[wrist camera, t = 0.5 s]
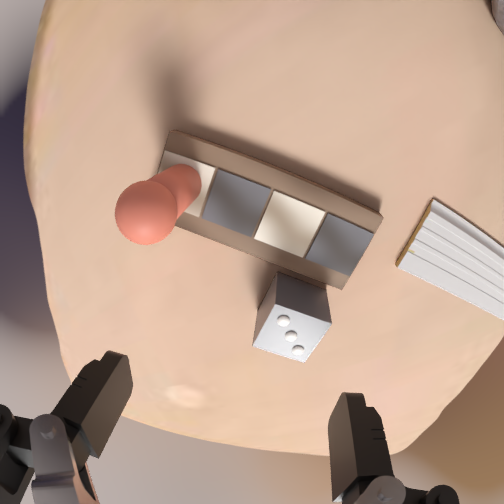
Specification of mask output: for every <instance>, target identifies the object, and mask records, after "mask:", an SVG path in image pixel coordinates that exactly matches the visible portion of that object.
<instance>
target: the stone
mask: <svg viewBox="0 0 504 504" xmlns="http://www.w3.org/2000/svg"><path fill="white" fill-rule="evenodd" d="M491 4H492V14H493V16H494V18H495V21H496V23H497V25H498V27H499V29H500V30H501V32H502V33H503V35H504V0H491Z"/></svg>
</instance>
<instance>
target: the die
mask: <svg viewBox="0 0 504 504" xmlns="http://www.w3.org/2000/svg"><path fill="white" fill-rule="evenodd" d="M331 324H332V321H331V315H330V309H329V303H328V298H327V292H326V290H325V289H322V288H319V287H317V286H314V285H311V284H309V283H306V282H303V281H301V280H298V279H296V278H293V277H290V276H288V275H285V274H282V273H280V272H277V273H276V275H275V277H274V279H273V281H272V284H271V286H270V288H269V290H268V292H267V294H266V296H265V298H264V300H263V302H262V304H261V306H260V308H259V310H258V312H257V318H256V325H255V331H254V338H253V344H252V346H253V347H256V348H259V349H262V350H265V351H268V352H271V353H274V354H278V355H281V356H284V357H287V358H290V359H294V360H297V361H300V362H304V363H305V361H306V360H307V358H308V357H309V356H310V354H311V353H312V352H313V350H314V349H315V347H316V346H317V345H318V343H319V342H320V340H321V339H322V337H323V336H324V335H325V333H326V332H327V330H328V329H329V327H330V326H331Z"/></svg>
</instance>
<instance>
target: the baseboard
mask: <svg viewBox="0 0 504 504" xmlns="http://www.w3.org/2000/svg"><path fill="white" fill-rule="evenodd" d="M395 265H396V267H397V268H399V269H401V270H403V271H406V272H408V273H410V274H412V275H414V276H416V277H418V278H420V279H422V280H425V281H427V282H429V283H431V284H433V285H435V286H437V287H439V288H441V289H443V290H445V291H447V292H449V293H451V294H453V295H455V296H457V297H459V298H461V299H463V300H465V301H467V302H469V303H471V304H473V305H475V306H477V307H479V308H481V309H483V310H485V311H487V312H489V313H491V314H493V315H494V316H496V317H498V318H500V319H502V320H504V248H503V247H502V246H501V245H499V244H498V243H497V242H495V241H494V240H493V239H491V238H490V237H489V236H487V235H486V234H485V233H483V232H482V231H480V230H479V229H478V228H476V227H475V226H473V225H472V224H471V223H469V222H468V221H466V220H465V219H463V218H462V217H460V216H459V215H457V214H456V213H454V212H453V211H451V210H450V209H448V208H447V207H445V206H444V205H442V204H441V203H439V202H437V201H436V200H434V199H432V200H431V202H430V204H429V206H428V208H427V210H426V212H425V214H424V215H423V217H422V219H421V221H420V223H419V224H418V226H417V228H416V230H415V232H414V233H413V235H412V237H411V238H410V240H409V242H408V244H407V245H406V247H405V249H404V250H403V252H402V254H401V255H400V257H399V259H398V260H397V262H396V263H395Z"/></svg>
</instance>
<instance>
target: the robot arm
mask: <svg viewBox="0 0 504 504" xmlns="http://www.w3.org/2000/svg"><path fill="white" fill-rule="evenodd" d="M132 388H133V381H132V376H131V370H130V365H129V359H128V357H127V355H123V354H120V353H116V352H113V351H107V352H106V353H105V354H104V356H103V357H102V359H101V360H100V361H98V360H95V359H94V360H93V361H91V362H90V363H88V364H87V365H85V366H84V367H83V368H82V370H81V371H80V373H79V374H78V375H77V378H75V380H74V381H73V382H72V385H70V387H69V388H68V389H67V391H66V392H65V394H64V395H63V397H62V398H61V400H60V401H59V403H58V404H57V405H56V407H55V409H54V410H53V411H52V412H51V413H50V414H43V415H40V416H38V417H36V418H35V419H28V418H23V417H18V416H13V414H12V413H11V411H10V410H9V408H8V407H6V406H4V405H1V404H0V504H20V502H21V500H22V498H23V496H24V493H25V491H26V489H27V487H28V485H29V483H30V480H31V478H32V476H33V474H34V472H35V475H36V479H35V480H33V481H32V483H31V488H32V493H33V498H34V502H35V504H100V503H99V500H98V497H97V494H96V491H95V489H94V486H93V483H92V479H91V476H90V473H89V469H88V466H87V463H86V461H87V459H88V457H89V455H91V456H94V457H96V458H99V457H100V455H101V453H102V451H103V449H104V447H105V445H106V443H107V441H108V438H109V437H110V435H111V433H112V431H113V429H114V427H115V425H116V423H117V421H118V419H119V417H120V415H121V413H122V411H123V409H124V407H125V405H126V403H127V401H128V400H129V398H130V396H131V393H132ZM383 429H384V428H383V424H382V419H381V417H380V415H379V414H378V413H377V411H376V410H375V408H374V407H366V403H365V398H364V395H363V394H362V393H346V392H343V393H342V394H341V396H340V398H339V400H338V402H337V404H336V406H335V408H334V410H333V412H332V414H331V416H330V419H329V423H328V437H329V450H330V465H331V482H332V501H333V502H342V504H459V499H458V496H457V493H456V492H455V490H454V489H453V488H451V487H450V486H447V485H438V486H436V487H434V488H432V489H431V490H430V491H424V490H417V489H411V488H407V487H405V486H404V485H403V483H402V482H401V481H400V480H399V479H397V478H395V476H394V474H393V470H392V465H391V461H390V455H389V450H388V446H387V441H386V440H385V439H386V437H385V432H384V431H383Z"/></svg>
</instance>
